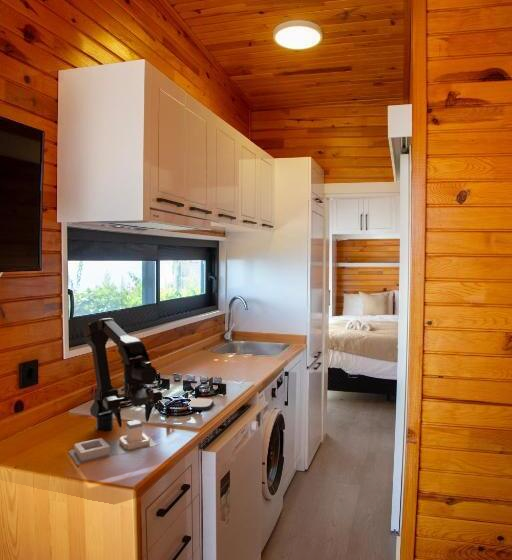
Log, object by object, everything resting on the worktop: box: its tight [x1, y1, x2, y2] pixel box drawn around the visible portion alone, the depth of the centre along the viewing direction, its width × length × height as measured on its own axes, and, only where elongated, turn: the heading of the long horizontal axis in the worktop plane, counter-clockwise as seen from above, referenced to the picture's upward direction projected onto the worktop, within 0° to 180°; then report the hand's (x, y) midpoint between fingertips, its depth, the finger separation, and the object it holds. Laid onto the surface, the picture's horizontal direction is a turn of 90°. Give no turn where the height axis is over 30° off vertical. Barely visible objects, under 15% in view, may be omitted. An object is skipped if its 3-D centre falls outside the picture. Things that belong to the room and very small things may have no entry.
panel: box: [67, 432, 159, 468], centre depth 161 cm, size 12×26×4 cm, turn 123°
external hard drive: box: [187, 397, 214, 412], centre depth 207 cm, size 24×12×2 cm, turn 83°
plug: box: [125, 419, 143, 443], centre depth 165 cm, size 4×4×7 cm
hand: (133, 424), depth 164 cm, fingers open, 9 cm apart
